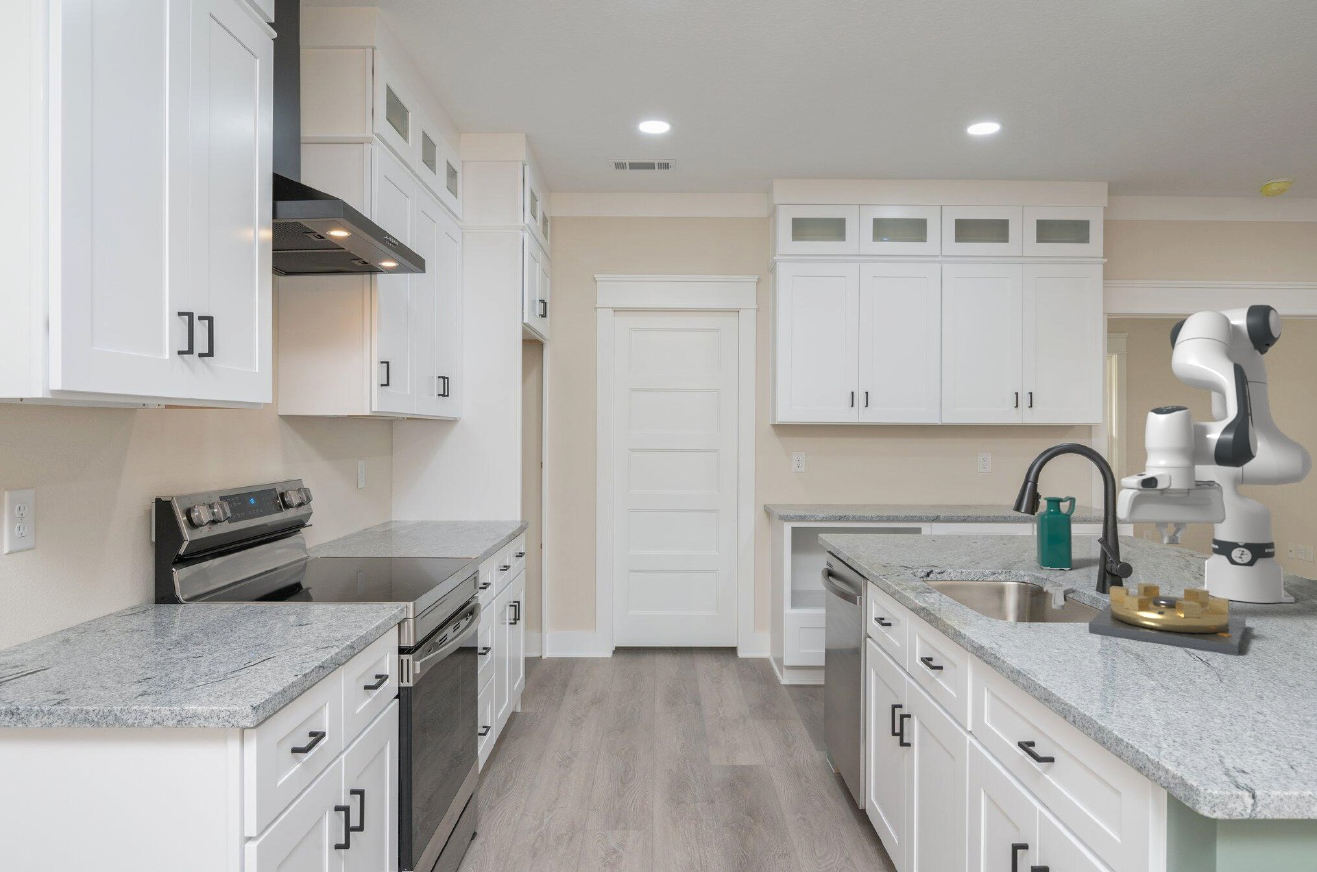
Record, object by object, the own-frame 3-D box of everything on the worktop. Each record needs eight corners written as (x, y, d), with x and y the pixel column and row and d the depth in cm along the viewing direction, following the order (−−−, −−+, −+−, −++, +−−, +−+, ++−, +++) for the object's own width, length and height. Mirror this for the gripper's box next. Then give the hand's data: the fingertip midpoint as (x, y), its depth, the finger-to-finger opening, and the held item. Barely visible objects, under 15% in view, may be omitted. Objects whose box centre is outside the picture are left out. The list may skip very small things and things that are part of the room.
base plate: (1111, 610, 164) (1111, 601, 164) (1245, 628, 148) (1245, 617, 148) (1088, 632, 146) (1088, 622, 146) (1238, 655, 130) (1237, 643, 130)
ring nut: (1120, 603, 161) (1119, 579, 161) (1232, 617, 147) (1232, 591, 148) (1101, 621, 146) (1101, 594, 146) (1224, 638, 133) (1224, 609, 133)
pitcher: (1042, 569, 214) (1041, 497, 214) (1036, 564, 222) (1034, 495, 222) (1078, 571, 211) (1077, 497, 211) (1071, 566, 219) (1069, 495, 219)
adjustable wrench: (1064, 612, 165) (1064, 604, 165) (1034, 608, 169) (1033, 601, 169) (1073, 591, 186) (1073, 584, 186) (1045, 588, 190) (1045, 582, 190)
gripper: (1212, 479, 155) (1214, 542, 155) (1113, 479, 158) (1114, 541, 157) (1232, 481, 149) (1233, 546, 148) (1128, 480, 151) (1129, 545, 151)
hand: (1171, 543), depth 153 cm, fingers closed
